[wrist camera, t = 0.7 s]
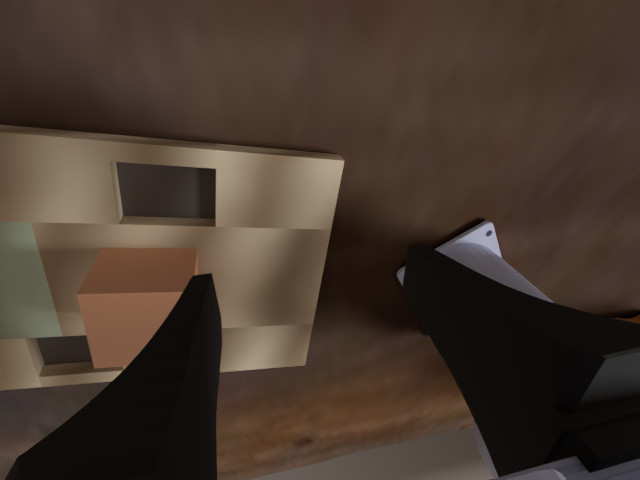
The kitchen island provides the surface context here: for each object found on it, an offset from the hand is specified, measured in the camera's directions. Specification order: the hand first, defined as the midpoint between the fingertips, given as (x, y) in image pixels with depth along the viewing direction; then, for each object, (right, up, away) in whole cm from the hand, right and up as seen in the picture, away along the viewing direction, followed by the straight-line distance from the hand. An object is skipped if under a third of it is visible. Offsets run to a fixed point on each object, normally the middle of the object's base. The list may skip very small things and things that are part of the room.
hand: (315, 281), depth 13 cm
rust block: (-10, -1, +8) cm, 13 cm away
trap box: (-11, 0, +9) cm, 14 cm away
